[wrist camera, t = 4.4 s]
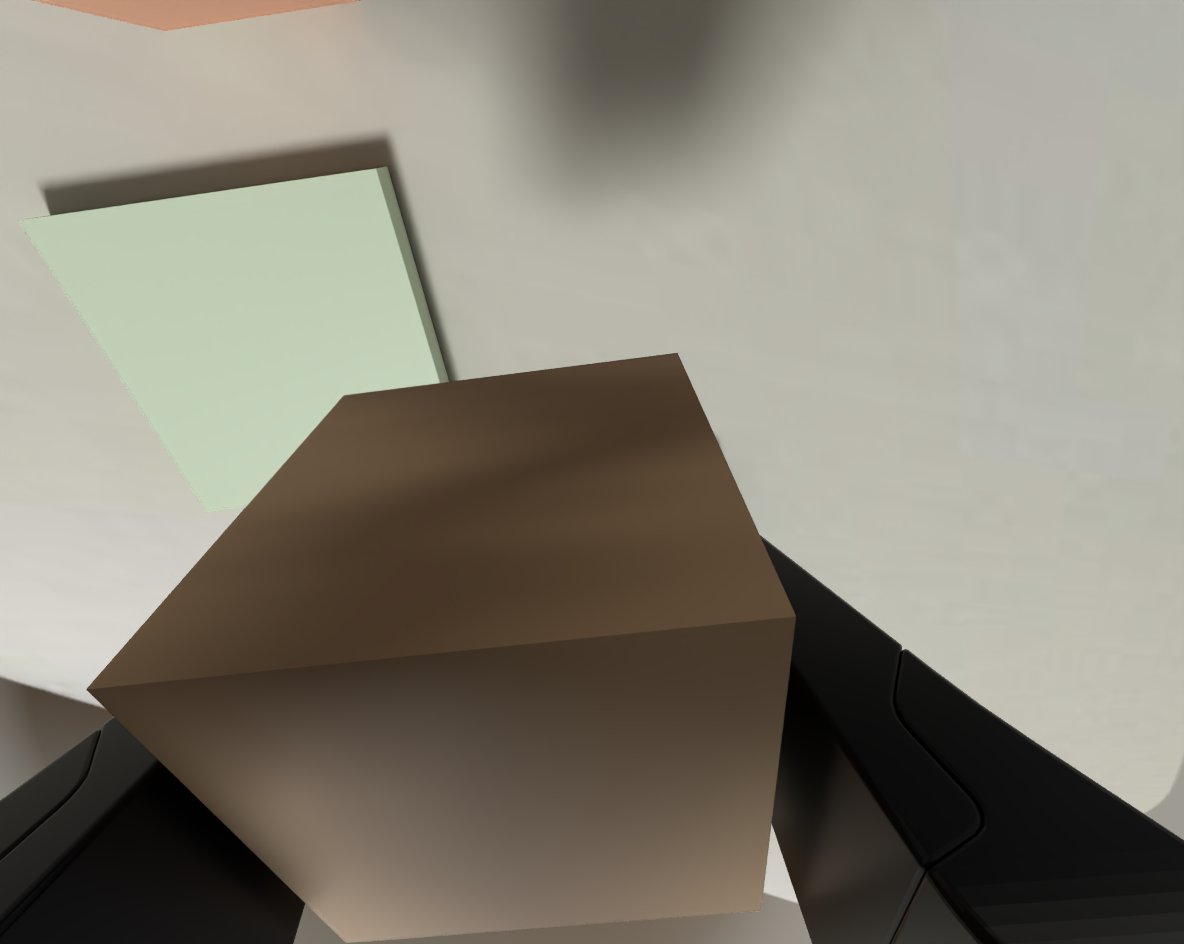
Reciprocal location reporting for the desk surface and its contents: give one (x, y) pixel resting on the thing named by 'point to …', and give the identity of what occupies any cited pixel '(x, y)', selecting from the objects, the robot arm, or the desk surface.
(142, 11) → the terracotta block
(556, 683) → the walnut block
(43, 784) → the robot arm
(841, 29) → the desk surface
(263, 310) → the plate
